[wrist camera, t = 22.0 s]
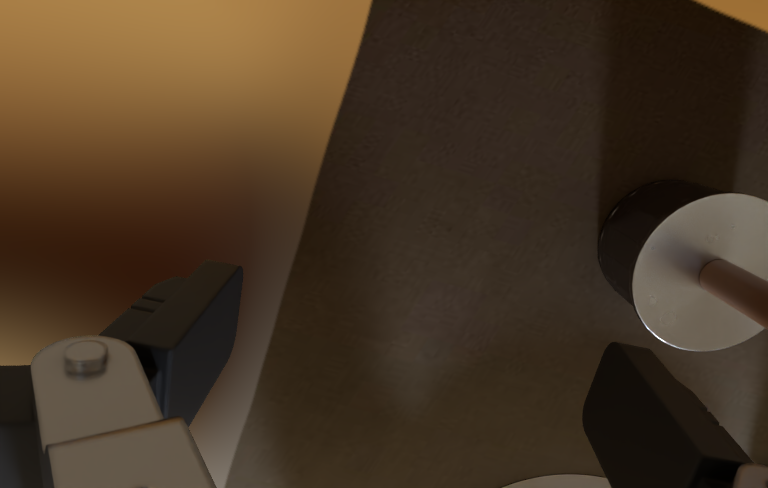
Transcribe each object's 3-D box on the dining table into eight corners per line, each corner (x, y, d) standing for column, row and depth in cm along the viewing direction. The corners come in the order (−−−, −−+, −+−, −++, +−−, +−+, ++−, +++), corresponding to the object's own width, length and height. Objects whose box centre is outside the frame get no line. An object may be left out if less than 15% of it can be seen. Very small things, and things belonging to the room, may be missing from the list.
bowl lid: (615, 212, 36) (691, 253, 28) (786, 171, 36) (919, 200, 27) (634, 359, 40) (707, 437, 31) (791, 324, 39) (912, 394, 30)
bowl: (589, 197, 43) (629, 218, 36) (721, 165, 42) (786, 180, 35) (606, 314, 46) (645, 354, 39) (729, 286, 45) (791, 321, 38)
